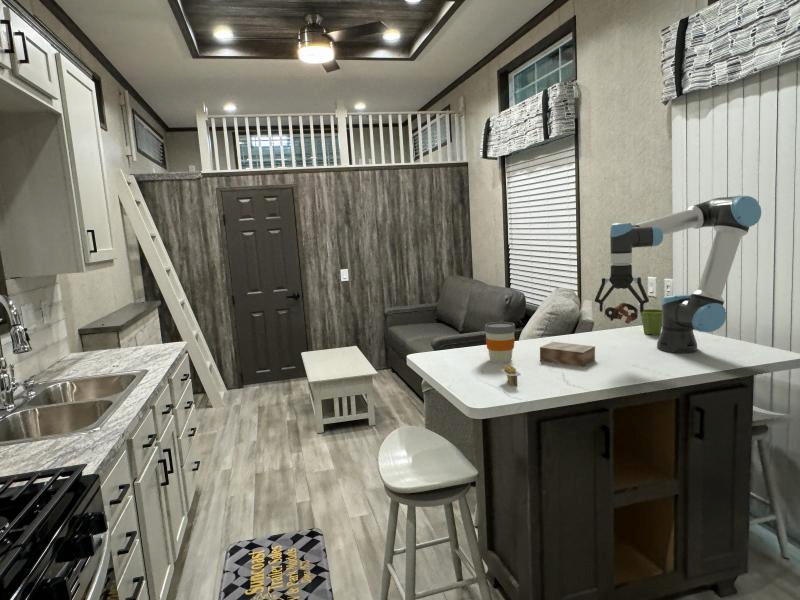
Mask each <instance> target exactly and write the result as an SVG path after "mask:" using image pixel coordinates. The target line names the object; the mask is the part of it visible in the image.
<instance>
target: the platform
mask: <svg viewBox="0 0 800 600" xmlns="http://www.w3.org/2000/svg"><path fill="white" fill-rule="evenodd" d="M516 369H517V368H515V367H514V366H513V365H510V364H508V366H507V365H504V367H503V368H501V372H502V373H504V374H505V375H506V376H507V377H506V378H507V381H508V380H509V381H508V382H509V385H510V386H511V385H512V386H516V387H518V377H520V376H521V375H522V374H521V373H520V372H518V371H517V370H516Z"/></svg>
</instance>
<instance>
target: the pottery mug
mask: <svg viewBox="0 0 800 600" xmlns="http://www.w3.org/2000/svg"><path fill="white" fill-rule="evenodd" d="M625 307H626V308H627V310H628V311H627V310H626V309H624V308H625ZM629 311H633V312H630V314H629ZM610 312H611V313H610ZM623 316H624V317H626V319H625V320H624V323H625V324H627V325H629V324H630V323H631V322H633V321H636V320H638V307H636V306H634V305H633V304H630V303H626V302H622V303H619V305H616V306H615V307H611V306H608V307H605V317H606V318H609V320H610V322H612V321H614V320H620V321H621V320H622V317H623Z"/></svg>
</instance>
